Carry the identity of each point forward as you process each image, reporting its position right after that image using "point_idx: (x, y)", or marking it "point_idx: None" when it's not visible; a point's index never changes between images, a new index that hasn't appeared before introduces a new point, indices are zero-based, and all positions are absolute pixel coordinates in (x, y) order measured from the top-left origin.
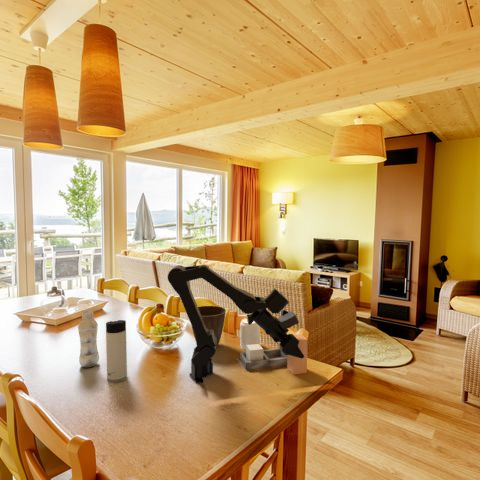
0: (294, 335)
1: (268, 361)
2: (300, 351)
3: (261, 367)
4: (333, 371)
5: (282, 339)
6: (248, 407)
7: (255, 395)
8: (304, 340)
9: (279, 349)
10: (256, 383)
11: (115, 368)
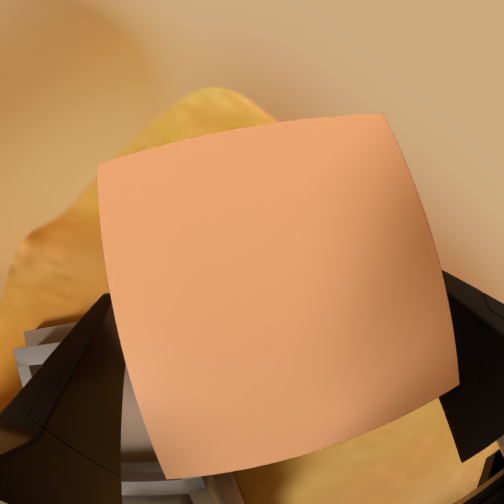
0: (160, 337)
1: (206, 484)
2: (468, 290)
3: (221, 498)
4: (229, 102)
5: (100, 464)
6: (472, 481)
7: (425, 484)
8: (401, 173)
9: (29, 370)
10: (344, 500)
11: None
